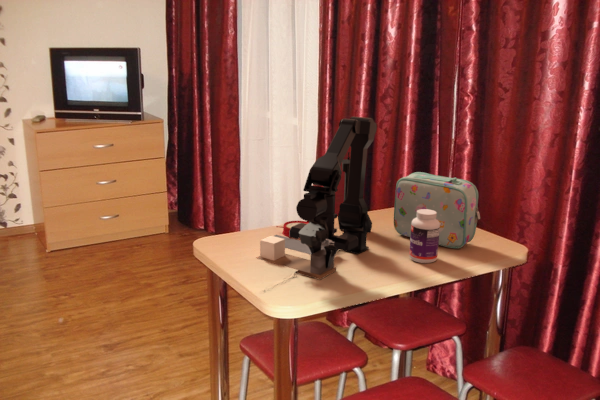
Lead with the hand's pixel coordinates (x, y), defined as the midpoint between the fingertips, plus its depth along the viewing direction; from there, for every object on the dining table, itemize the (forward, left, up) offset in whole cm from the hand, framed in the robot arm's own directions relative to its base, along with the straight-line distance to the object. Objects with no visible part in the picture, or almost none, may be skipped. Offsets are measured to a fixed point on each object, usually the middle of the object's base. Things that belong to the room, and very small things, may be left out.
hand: (322, 266), depth 171 cm
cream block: (+17, 0, -1) cm, 17 cm away
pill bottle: (-17, -27, -2) cm, 32 cm away
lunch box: (-13, -45, -2) cm, 47 cm away
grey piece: (+17, -12, -2) cm, 21 cm away
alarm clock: (+23, -23, -2) cm, 32 cm away
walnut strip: (+9, 0, -2) cm, 9 cm away
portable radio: (+15, -39, -2) cm, 42 cm away
